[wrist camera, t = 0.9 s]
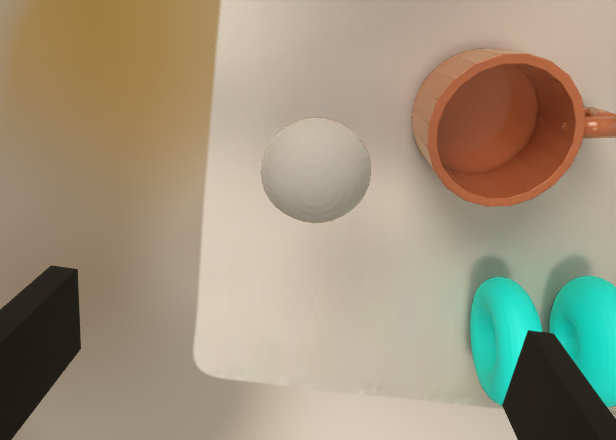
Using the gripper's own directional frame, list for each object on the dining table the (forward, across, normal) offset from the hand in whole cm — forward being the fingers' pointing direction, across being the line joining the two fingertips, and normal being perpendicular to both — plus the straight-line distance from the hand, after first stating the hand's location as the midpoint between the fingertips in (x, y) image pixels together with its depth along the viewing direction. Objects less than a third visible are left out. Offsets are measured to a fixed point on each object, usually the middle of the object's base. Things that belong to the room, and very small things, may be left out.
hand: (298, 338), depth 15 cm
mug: (+27, +14, +4) cm, 30 cm away
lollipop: (+27, 0, +1) cm, 27 cm away
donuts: (+27, +20, -12) cm, 36 cm away
